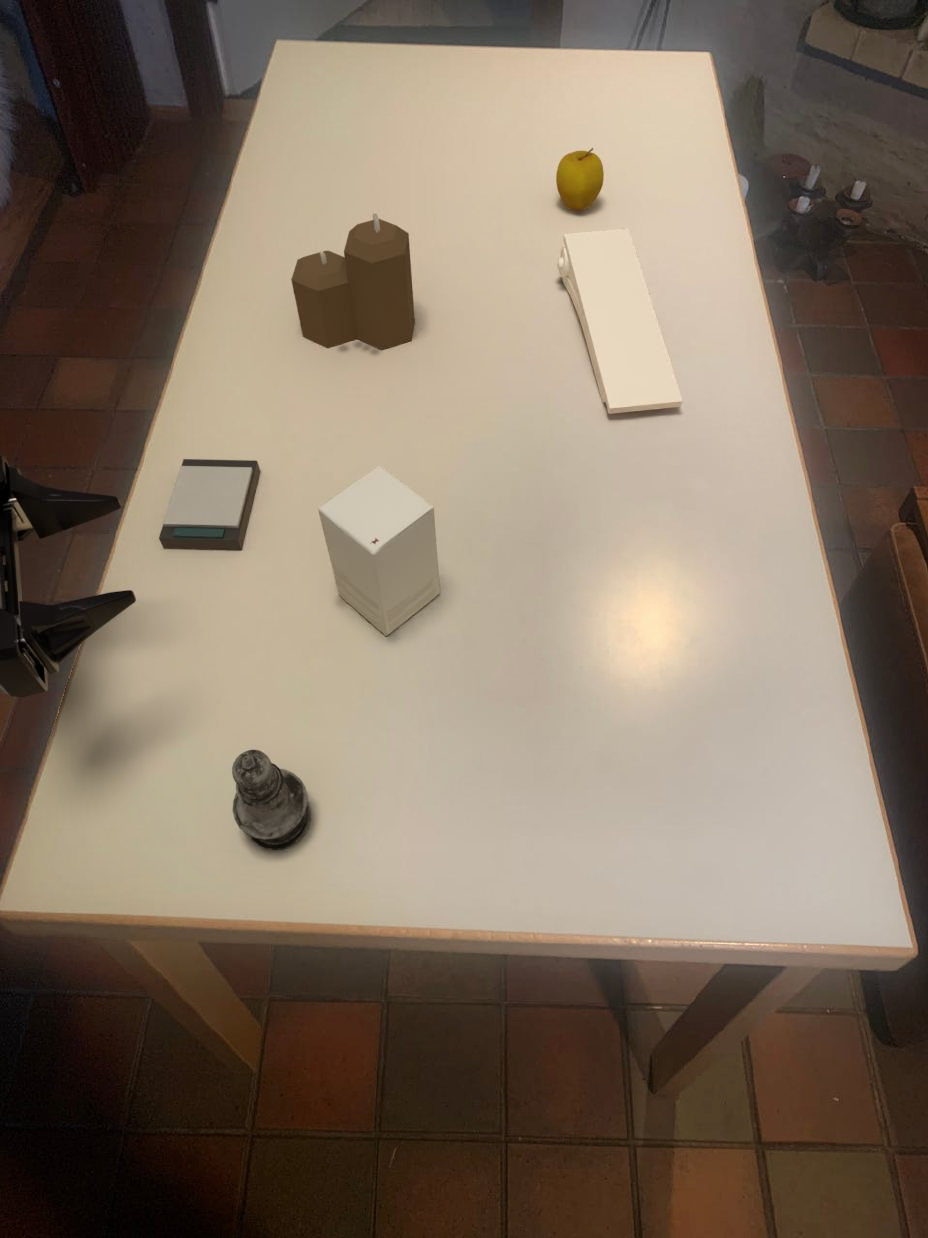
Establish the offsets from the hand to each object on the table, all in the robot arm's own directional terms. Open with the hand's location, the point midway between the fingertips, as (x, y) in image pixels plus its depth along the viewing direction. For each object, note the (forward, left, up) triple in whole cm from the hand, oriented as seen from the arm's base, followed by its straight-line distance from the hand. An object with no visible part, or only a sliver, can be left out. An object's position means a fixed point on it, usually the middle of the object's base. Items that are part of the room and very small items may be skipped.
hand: (126, 547), depth 64 cm
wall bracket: (+57, +27, -17) cm, 65 cm away
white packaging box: (+20, +1, -17) cm, 26 cm away
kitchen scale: (+6, +18, -17) cm, 25 cm away
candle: (+30, +42, -17) cm, 54 cm away
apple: (+65, +56, -17) cm, 87 cm away
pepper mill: (+4, -18, -17) cm, 25 cm away
